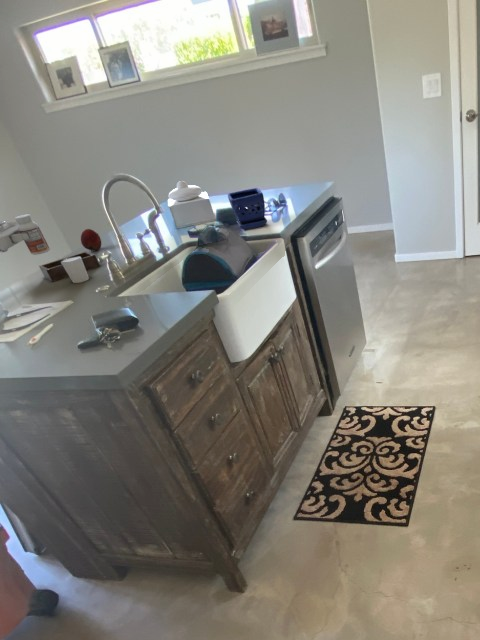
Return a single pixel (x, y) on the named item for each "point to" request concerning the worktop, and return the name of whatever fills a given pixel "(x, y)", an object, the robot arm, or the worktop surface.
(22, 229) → the pill bottle
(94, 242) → the apple
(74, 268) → the white cup
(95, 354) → the worktop surface
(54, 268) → the brown wooden tray
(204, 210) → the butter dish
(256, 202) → the flower pot
